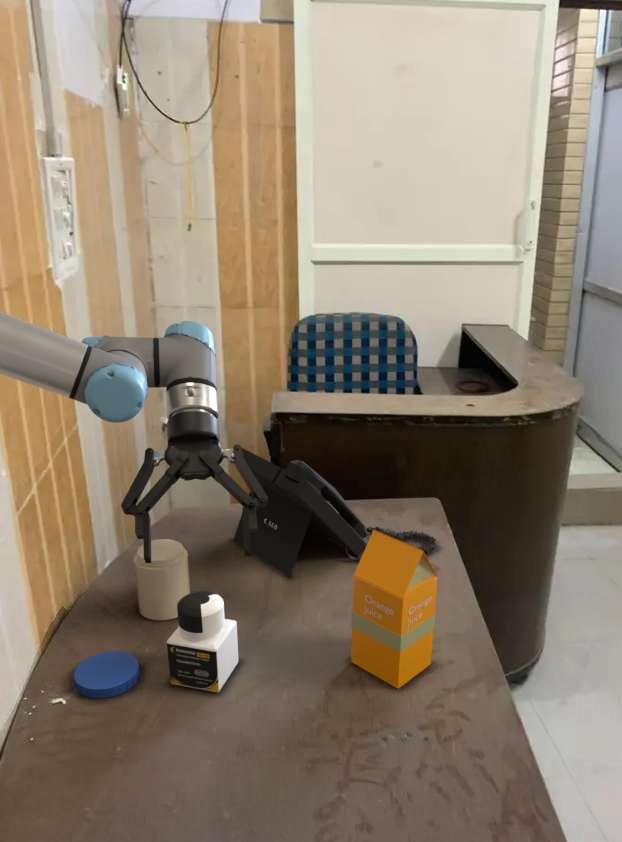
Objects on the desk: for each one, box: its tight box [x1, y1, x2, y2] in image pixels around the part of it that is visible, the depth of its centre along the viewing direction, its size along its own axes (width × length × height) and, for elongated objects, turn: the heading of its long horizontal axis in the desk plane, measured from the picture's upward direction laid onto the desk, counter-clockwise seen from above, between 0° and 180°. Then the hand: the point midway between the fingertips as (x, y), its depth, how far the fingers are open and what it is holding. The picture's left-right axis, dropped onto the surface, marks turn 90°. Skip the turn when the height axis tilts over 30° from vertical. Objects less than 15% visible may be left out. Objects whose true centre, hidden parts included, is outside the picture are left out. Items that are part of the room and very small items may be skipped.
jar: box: [133, 538, 192, 621], centre depth 118 cm, size 8×8×10 cm
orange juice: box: [350, 529, 439, 689], centre depth 105 cm, size 8×9×20 cm
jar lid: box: [73, 650, 141, 699], centre depth 103 cm, size 8×8×2 cm
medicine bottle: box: [166, 590, 239, 693], centre depth 103 cm, size 7×7×12 cm
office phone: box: [232, 444, 437, 578], centre depth 137 cm, size 29×28×20 cm
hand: (198, 557), depth 106 cm, fingers open, 13 cm apart
